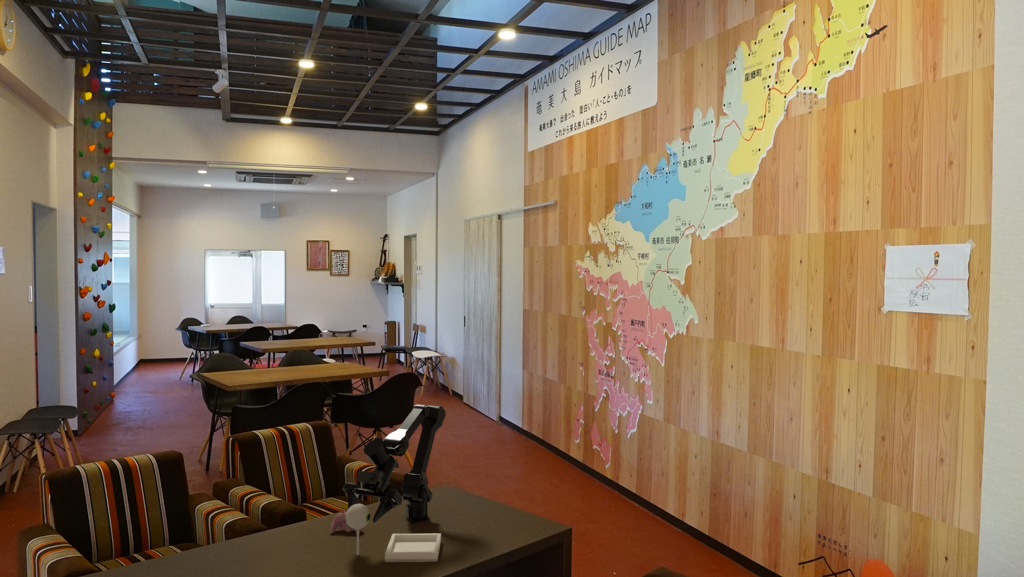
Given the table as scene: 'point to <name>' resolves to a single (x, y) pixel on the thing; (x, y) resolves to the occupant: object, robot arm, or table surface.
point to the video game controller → (340, 523)
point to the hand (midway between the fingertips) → (360, 519)
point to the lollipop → (357, 518)
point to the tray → (413, 548)
